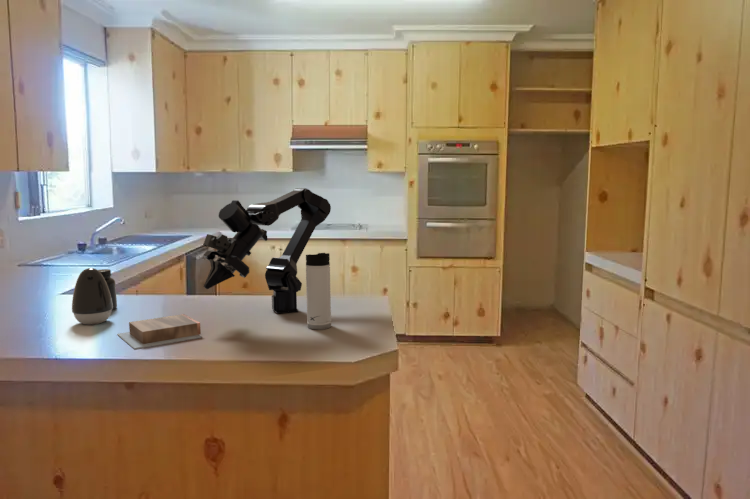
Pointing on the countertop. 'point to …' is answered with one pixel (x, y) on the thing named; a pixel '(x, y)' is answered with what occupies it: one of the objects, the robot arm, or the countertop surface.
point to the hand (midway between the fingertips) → (205, 288)
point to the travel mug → (318, 291)
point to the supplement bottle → (110, 285)
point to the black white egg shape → (91, 298)
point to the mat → (137, 344)
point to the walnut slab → (164, 328)
